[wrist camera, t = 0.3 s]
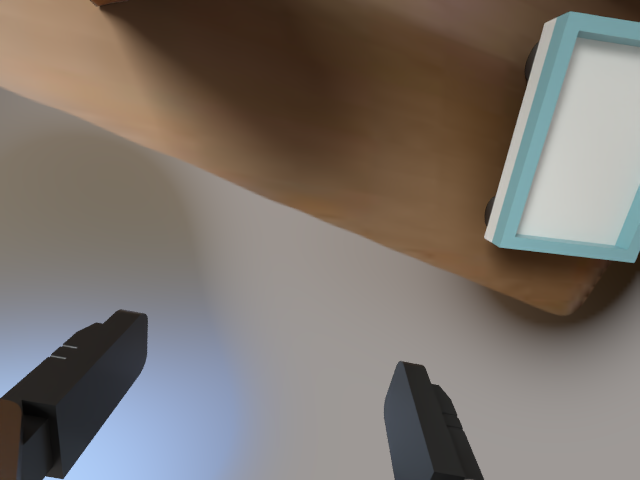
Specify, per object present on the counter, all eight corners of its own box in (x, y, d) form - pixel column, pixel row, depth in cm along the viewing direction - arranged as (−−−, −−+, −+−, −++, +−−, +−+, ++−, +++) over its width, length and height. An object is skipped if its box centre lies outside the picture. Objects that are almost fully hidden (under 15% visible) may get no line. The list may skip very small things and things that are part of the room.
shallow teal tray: (522, 33, 33) (570, 11, 27) (655, 54, 34) (731, 37, 28) (469, 229, 39) (499, 247, 33) (584, 242, 40) (634, 262, 34)
